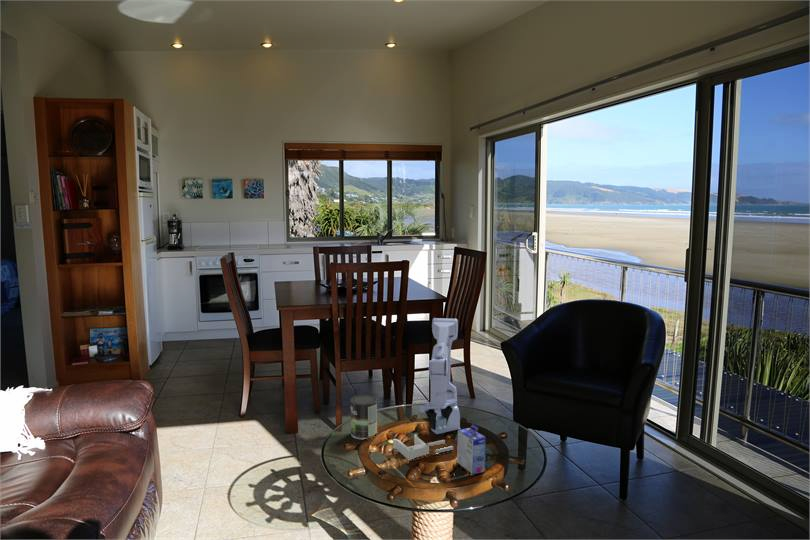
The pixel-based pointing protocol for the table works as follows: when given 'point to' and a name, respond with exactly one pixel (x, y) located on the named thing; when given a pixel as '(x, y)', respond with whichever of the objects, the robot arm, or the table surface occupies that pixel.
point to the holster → (440, 448)
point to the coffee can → (363, 416)
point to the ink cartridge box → (471, 450)
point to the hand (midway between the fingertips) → (438, 427)
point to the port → (411, 448)
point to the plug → (440, 425)
